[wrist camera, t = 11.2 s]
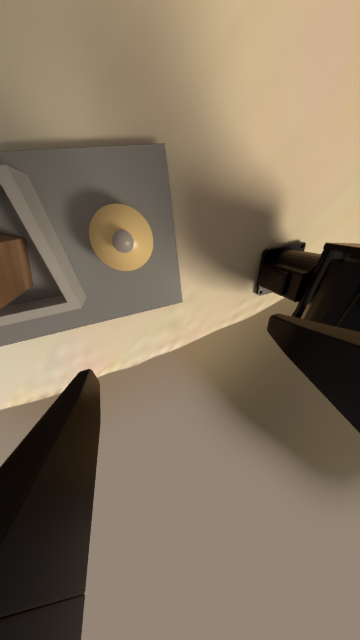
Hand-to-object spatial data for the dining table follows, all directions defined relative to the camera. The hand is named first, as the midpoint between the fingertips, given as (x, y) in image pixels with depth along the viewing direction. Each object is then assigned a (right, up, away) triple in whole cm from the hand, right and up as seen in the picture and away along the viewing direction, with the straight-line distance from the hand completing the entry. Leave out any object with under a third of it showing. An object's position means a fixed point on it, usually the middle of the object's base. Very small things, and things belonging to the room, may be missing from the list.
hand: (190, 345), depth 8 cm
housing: (-11, +7, +8) cm, 15 cm away
